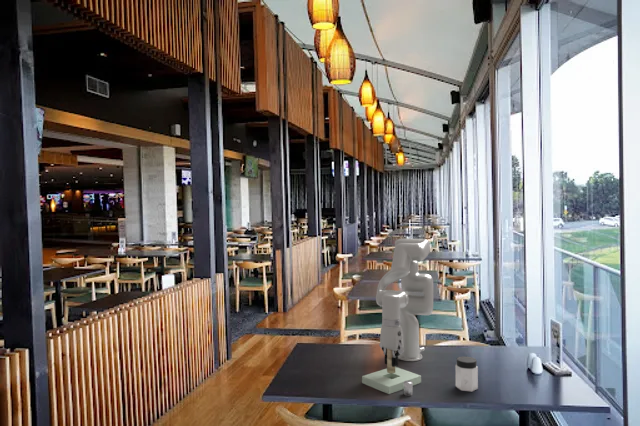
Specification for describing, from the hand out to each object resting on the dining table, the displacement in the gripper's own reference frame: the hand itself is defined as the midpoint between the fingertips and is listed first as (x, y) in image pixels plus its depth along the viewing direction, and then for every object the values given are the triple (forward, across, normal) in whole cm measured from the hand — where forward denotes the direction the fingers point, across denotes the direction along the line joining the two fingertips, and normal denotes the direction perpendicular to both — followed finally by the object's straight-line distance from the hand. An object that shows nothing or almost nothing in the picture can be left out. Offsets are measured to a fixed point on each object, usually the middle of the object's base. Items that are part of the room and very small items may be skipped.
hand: (391, 364), depth 208 cm
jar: (+8, -24, -20) cm, 32 cm away
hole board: (+8, 0, 0) cm, 8 cm away
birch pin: (+3, 0, 0) cm, 3 cm away
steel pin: (+8, -13, +4) cm, 16 cm away
